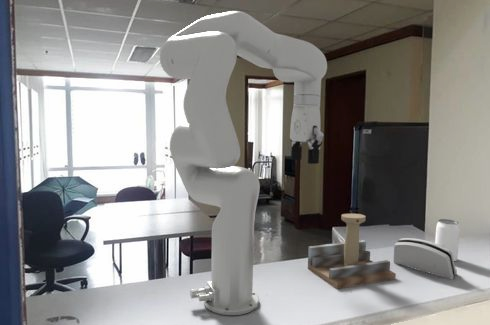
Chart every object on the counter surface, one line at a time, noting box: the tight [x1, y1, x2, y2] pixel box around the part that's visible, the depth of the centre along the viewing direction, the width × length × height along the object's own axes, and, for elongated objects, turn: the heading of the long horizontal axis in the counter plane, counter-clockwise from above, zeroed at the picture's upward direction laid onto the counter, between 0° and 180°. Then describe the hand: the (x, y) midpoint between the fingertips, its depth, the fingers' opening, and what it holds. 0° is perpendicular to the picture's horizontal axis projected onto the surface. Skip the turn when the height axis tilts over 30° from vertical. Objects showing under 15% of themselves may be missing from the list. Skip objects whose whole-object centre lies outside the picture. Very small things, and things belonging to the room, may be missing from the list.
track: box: [307, 239, 397, 290], centre depth 107 cm, size 19×14×6 cm
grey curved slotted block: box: [393, 237, 458, 280], centre depth 111 cm, size 17×5×10 cm, turn 45°
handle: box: [340, 213, 367, 266], centre depth 106 cm, size 5×6×15 cm
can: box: [434, 218, 461, 262], centre depth 120 cm, size 6×6×12 cm
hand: (304, 161), depth 112 cm, fingers open, 9 cm apart
